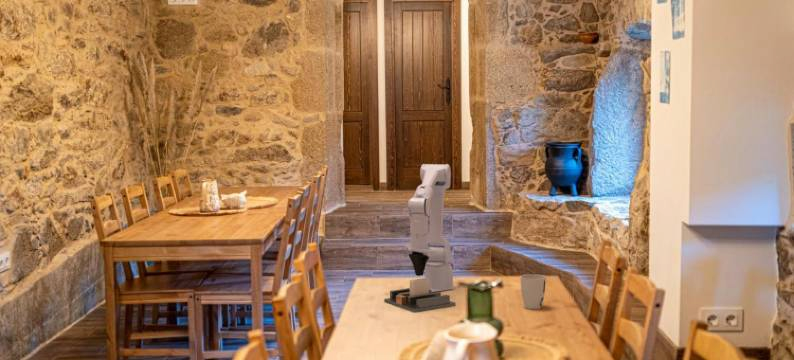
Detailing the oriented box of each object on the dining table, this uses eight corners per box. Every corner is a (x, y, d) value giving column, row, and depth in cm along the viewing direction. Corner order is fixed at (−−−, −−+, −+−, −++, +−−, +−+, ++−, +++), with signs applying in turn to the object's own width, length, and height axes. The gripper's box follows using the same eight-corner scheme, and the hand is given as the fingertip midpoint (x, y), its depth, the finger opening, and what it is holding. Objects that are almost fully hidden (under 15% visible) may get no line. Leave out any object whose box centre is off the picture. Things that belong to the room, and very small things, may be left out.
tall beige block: (424, 298, 299) (424, 278, 298) (429, 300, 297) (428, 279, 296) (409, 301, 295) (409, 280, 295) (413, 302, 293) (413, 281, 293)
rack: (424, 295, 308) (424, 285, 308) (455, 305, 293) (455, 295, 293) (384, 301, 299) (384, 291, 299) (414, 312, 284) (414, 301, 284)
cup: (547, 310, 286) (547, 279, 285) (521, 310, 286) (521, 279, 285) (543, 304, 294) (544, 274, 293) (518, 304, 294) (519, 274, 293)
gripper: (396, 232, 298) (397, 273, 299) (421, 238, 286) (421, 280, 287) (414, 230, 302) (414, 270, 303) (439, 236, 289) (439, 277, 291)
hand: (419, 275), depth 295 cm, fingers closed
